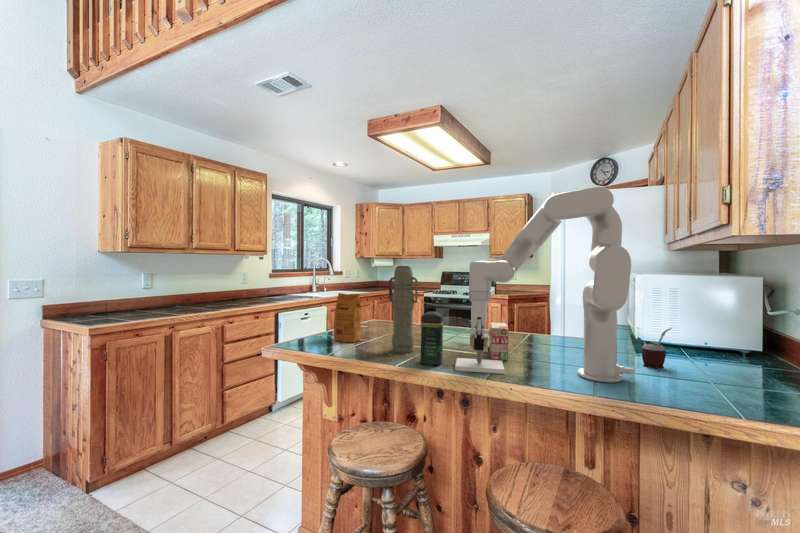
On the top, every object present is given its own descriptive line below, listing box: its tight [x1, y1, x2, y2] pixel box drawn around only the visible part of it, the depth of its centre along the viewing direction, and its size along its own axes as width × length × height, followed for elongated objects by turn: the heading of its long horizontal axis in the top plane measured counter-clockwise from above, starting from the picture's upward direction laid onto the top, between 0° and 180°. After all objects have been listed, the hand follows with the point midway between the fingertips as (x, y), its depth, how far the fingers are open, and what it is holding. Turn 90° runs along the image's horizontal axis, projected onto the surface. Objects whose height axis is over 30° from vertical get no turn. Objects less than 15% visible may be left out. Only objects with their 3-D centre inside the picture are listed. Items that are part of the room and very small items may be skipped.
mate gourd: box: [641, 327, 673, 370], centre depth 131 cm, size 8×8×15 cm
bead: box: [469, 332, 489, 353], centre depth 129 cm, size 6×6×5 cm
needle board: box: [454, 351, 505, 375], centre depth 129 cm, size 16×11×10 cm
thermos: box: [388, 265, 418, 354], centre depth 152 cm, size 9×12×35 cm
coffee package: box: [333, 292, 362, 343], centre depth 171 cm, size 10×12×22 cm
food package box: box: [488, 322, 510, 361], centre depth 150 cm, size 21×6×12 cm, turn 169°
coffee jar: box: [419, 310, 444, 366], centre depth 135 cm, size 10×8×19 cm
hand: (478, 347), depth 129 cm, fingers closed on bead, 5 cm apart
